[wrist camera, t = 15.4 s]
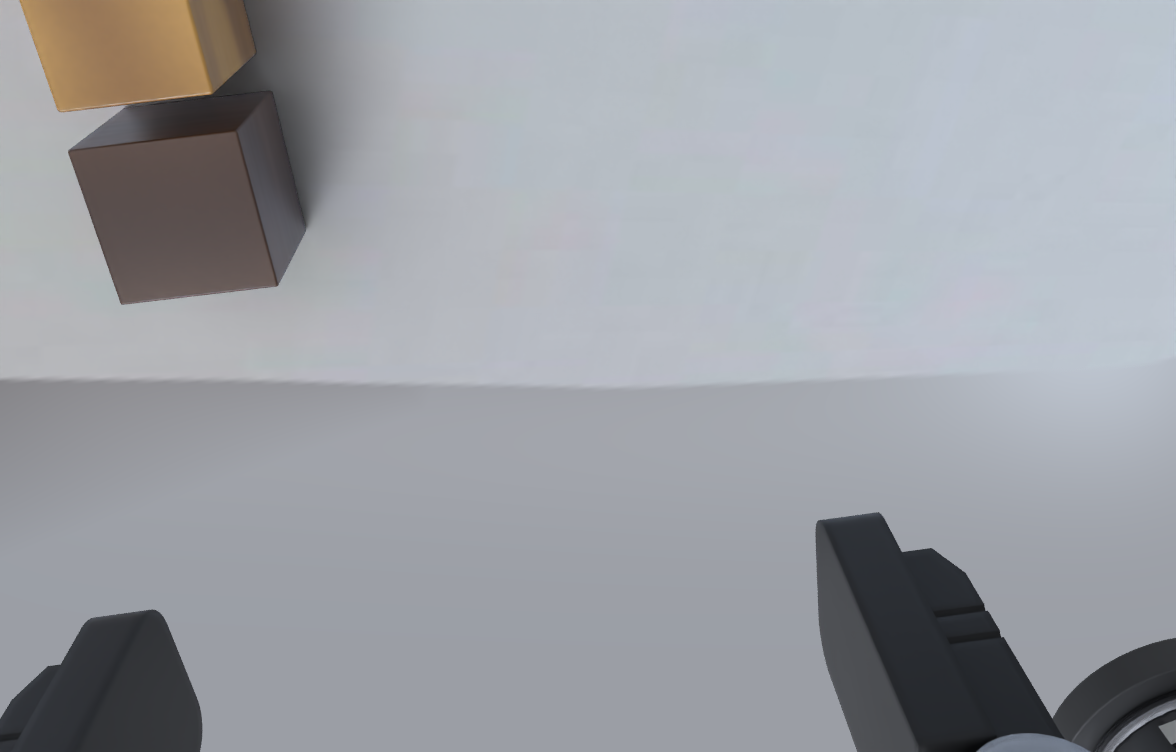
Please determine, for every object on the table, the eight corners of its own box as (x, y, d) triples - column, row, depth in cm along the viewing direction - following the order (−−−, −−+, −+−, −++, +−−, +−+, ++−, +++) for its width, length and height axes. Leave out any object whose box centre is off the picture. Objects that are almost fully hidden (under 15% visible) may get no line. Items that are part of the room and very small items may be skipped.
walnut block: (306, 230, 34) (278, 286, 30) (167, 247, 34) (120, 305, 30) (272, 89, 32) (236, 130, 28) (123, 107, 32) (66, 150, 28)
